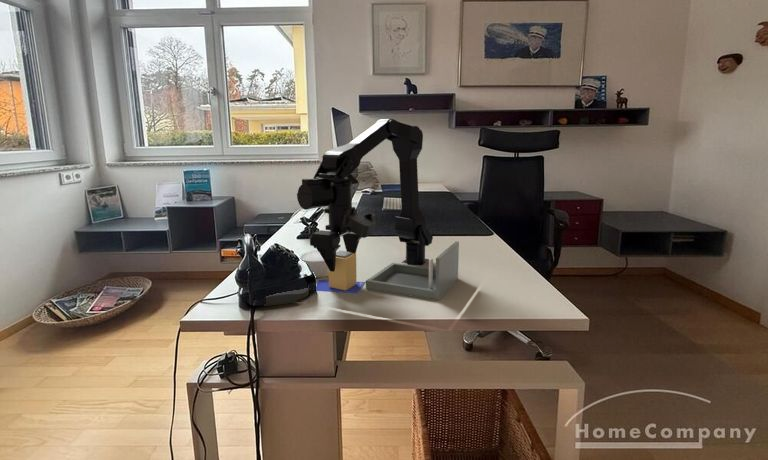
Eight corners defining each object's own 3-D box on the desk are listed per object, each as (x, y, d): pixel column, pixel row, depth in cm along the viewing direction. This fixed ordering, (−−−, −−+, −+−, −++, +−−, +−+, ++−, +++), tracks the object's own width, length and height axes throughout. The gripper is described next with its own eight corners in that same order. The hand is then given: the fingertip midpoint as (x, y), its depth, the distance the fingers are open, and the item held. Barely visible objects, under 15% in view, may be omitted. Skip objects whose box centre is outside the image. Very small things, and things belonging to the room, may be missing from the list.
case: (392, 271, 119) (392, 234, 117) (457, 280, 111) (458, 241, 109) (366, 290, 105) (365, 249, 103) (438, 302, 97) (439, 258, 95)
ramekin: (293, 272, 119) (292, 254, 118) (326, 264, 126) (326, 247, 125) (313, 283, 111) (312, 264, 110) (348, 273, 118) (348, 255, 117)
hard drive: (365, 281, 109) (320, 278, 112) (357, 292, 102) (308, 290, 104) (365, 287, 110) (320, 284, 112) (358, 299, 102) (309, 296, 104)
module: (339, 280, 110) (339, 249, 108) (356, 283, 108) (356, 252, 105) (328, 286, 105) (327, 254, 103) (345, 290, 103) (345, 257, 101)
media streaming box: (246, 310, 96) (244, 297, 95) (247, 287, 109) (246, 276, 109) (311, 302, 99) (310, 290, 99) (304, 281, 113) (304, 270, 112)
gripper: (349, 213, 90) (351, 282, 94) (386, 199, 107) (387, 259, 110) (306, 209, 95) (310, 275, 98) (348, 197, 111) (350, 254, 115)
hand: (342, 265), depth 105 cm, fingers open, 9 cm apart
